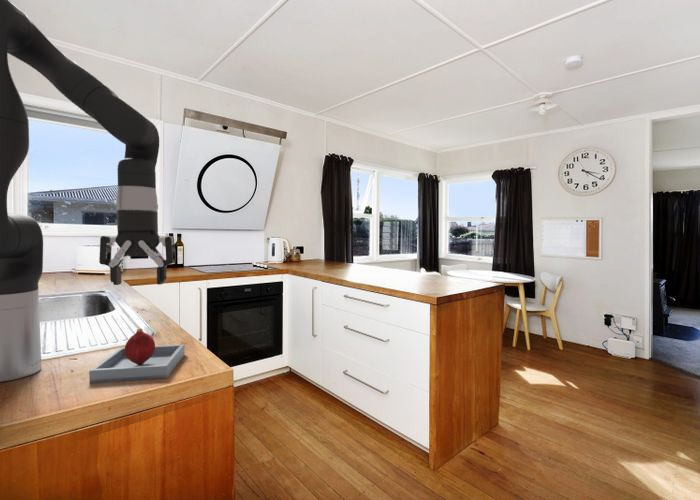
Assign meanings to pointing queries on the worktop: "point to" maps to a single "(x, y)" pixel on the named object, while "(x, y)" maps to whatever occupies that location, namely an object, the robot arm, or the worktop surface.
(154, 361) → the tray
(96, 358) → the worktop surface
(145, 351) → the onion
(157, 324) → the worktop surface
